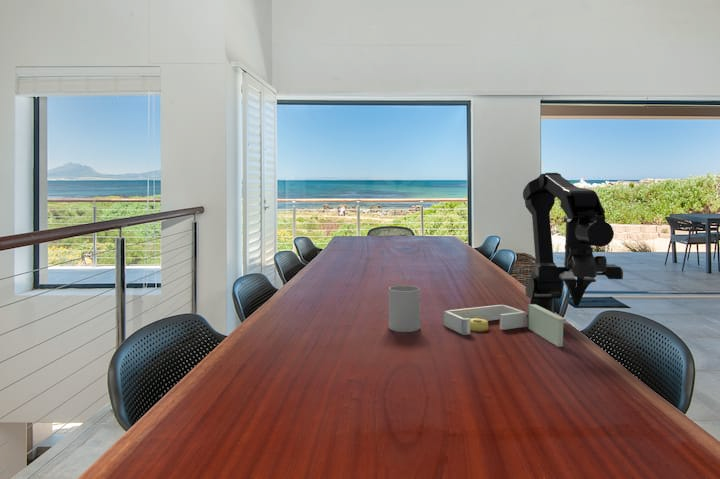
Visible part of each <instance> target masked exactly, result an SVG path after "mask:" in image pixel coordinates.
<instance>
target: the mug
mask: <svg viewBox="0 0 720 479" xmlns="http://www.w3.org/2000/svg"><path fill="white" fill-rule="evenodd" d="M388 329H389V330H391V331H393V332H399V333H413V332H417V331H420V329H421V289H420V287H418V286H415V285H403V284H402V285H394V286H393V285H392V286H390V287H388Z"/></svg>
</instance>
